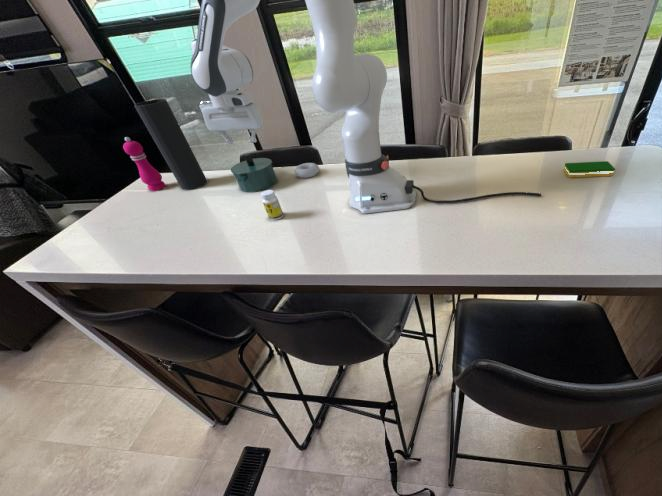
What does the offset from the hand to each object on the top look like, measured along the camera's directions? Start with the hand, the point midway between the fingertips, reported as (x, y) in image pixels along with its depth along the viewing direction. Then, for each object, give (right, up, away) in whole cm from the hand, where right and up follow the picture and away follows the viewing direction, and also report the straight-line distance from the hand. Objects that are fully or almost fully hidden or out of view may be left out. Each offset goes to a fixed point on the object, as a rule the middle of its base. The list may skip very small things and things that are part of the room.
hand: (242, 142), depth 117 cm
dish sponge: (+122, -14, -8) cm, 123 cm away
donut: (+20, -6, +14) cm, 25 cm away
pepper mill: (-44, -11, +17) cm, 48 cm away
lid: (+1, -6, +6) cm, 9 cm away
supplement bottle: (+17, -30, -12) cm, 37 cm away
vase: (-28, -10, +16) cm, 34 cm away
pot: (+2, -11, +10) cm, 16 cm away
